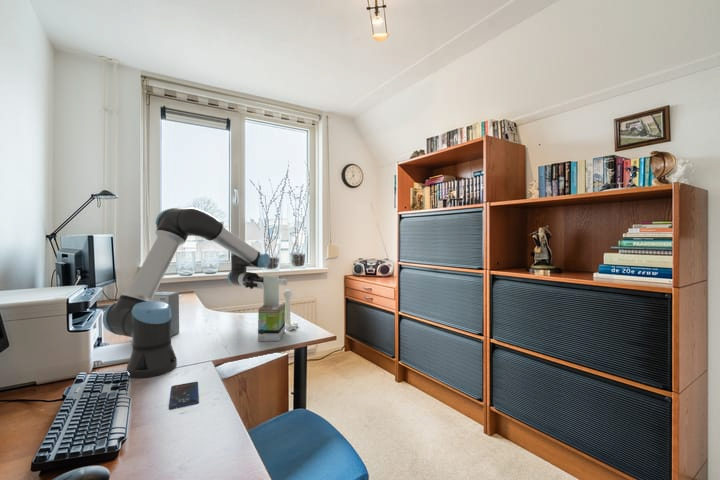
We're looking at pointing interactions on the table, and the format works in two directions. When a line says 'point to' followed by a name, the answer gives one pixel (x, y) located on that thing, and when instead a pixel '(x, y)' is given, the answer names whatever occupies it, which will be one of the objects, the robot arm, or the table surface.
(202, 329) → the table surface
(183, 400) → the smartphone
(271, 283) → the canister
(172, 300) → the hard drive box
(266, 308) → the tea box
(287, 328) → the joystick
